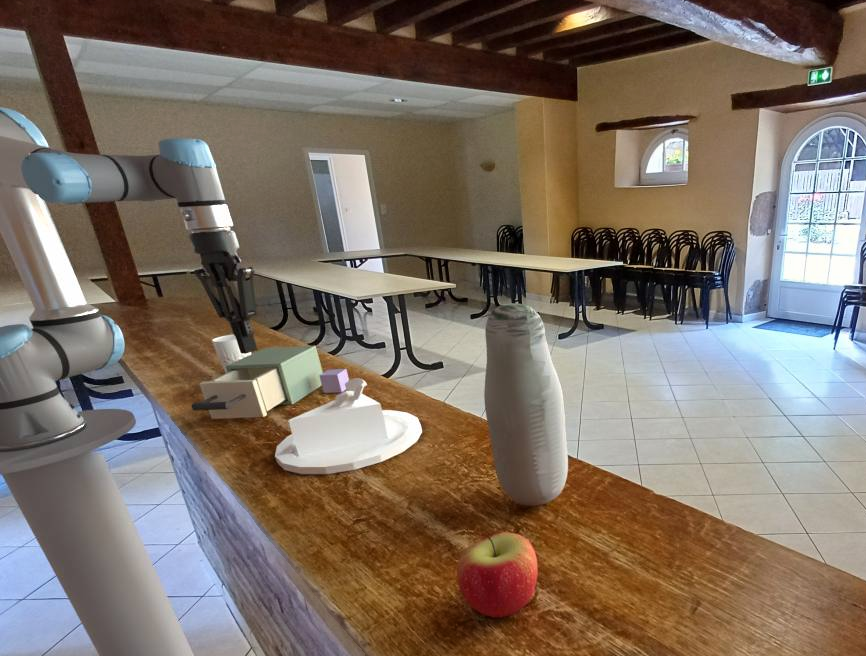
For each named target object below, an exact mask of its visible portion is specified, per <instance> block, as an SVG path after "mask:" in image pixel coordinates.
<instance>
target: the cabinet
mask: <svg viewBox="0 0 866 656" xmlns="http://www.w3.org/2000/svg"><path fill="white" fill-rule="evenodd" d="M269 367H278V368H279V372H280V375H281V379H282V382H283V385H284V389H285V392H286V396H287V399H286V400H284V401H283V402H281V403H279V404H278V405H277V406H288V405H289V406H292V405H295V404H296V403H297V402H299V401H301V400H302V399H303V398H305V397H306V396H308V395H309V394H312V393H313V392H314V391H316V390H317V389H319V388H320V387H322V384H321V380H320V376H319V375H321V374H322V373H324V372H323V368H322V364H321V361H320V357H319V353H318V350H317V346H316V345H301V346H300V345H299V346H297V345H296V346H295V345H294V346H275V347H264V348H262V349H260V350H257V351H256V352H255V351H254V353H253V352H252V353H251V355H249V356H246V357H244V358H242V359H240V360H237V361H235V362H233V363H231V364H229V365H226V369H227V372H230V371H232V370H235V369H244V368H269Z"/></svg>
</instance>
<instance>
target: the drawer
mask: <svg viewBox="0 0 866 656" xmlns="http://www.w3.org/2000/svg"><path fill="white" fill-rule="evenodd" d="M198 385H199V388H200V390H201V393H202V396H203V399H204V400H203V401H201V402H193V403H192V404H191V409H192V410H193V411H208V414H209V416H210V419H213V420H215V419H216V420H217V419H243V418H244V419H246V418H264V417H266V416H267V415H268V414H267V412H268V411H270V410H272V409H273V408H274V407H277V406H279V405H278V404H279V403H281V402H283V401H284V400H286V399H287V396H286V392H285V389H284V385H283V382H282V379H281V375H280V372H279V368H278V367H269V368H244V369H235V370H232V371H230V372H228V373H226V374H225V373H224V374H222V375H219V376H218V377H216V378H214V379H211V380H209V381H202V382H200V383H198Z"/></svg>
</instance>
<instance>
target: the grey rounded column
mask: <svg viewBox="0 0 866 656" xmlns="http://www.w3.org/2000/svg"><path fill="white" fill-rule="evenodd" d="M545 329H546V328H545V324H544V321H543V320H542V318H541V315H539V313H538V312H537V311H536V310H535V309H534V308H533V307H531V306H529V305H526V304H522V303H504V304H500V305H499V306H497V307H496V308H494V309H493V310H491V312H490V313H489V315H488V317H487V320H486V324H485V344H486V365H485V375H484V377H485V379H484V390H483V392H484V393H483V397H484V398H483V399H484V409H485V410H484V411H485V417H486V422H487V429H488V434H489V438H490V444H491V451H492V458H493V465H494V470H495V474H496V479H497V481H498V484H499V485H500V486H501V489H502V491H503V492H504V493H505V495H506V496H507V497H508V498H510V499H511V500H513V501H514V502H516V503H518V504H520V505H522V506H523V505H524V506H528V507H529V506H530V507H536V506H537V507H539V506H542V505H546V504H548V503H550V502H552V501H553V500H555V499H556V498H557V497H558V496H560V494H561V493H562V491H563V490H564V488H565V485H566V482H567V479H568V473H569V457H568V445H567V432H566V431H567V430H566V416H565V403H564V396H563V389H562V386H561V383H560V379H559V376H558V374H557V370H556V368H555V366H554V363H553V360H552V357H551V353H550V350H549V346H548V342H547V339H546V330H545Z"/></svg>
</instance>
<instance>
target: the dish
mask: <svg viewBox="0 0 866 656" xmlns="http://www.w3.org/2000/svg"><path fill="white" fill-rule="evenodd" d="M367 385H368V384H367V382H366V381H365V380H364V379H363V378H361V377H354V378H352V379H349V381H348V382H347V383H345V387H346V390H344V391H343V392H340V393H338V394H337V395H336V396H335V397H334V398H335V399H334V400H332V401H330V402H327V403H325V404H323V405H319V406H317V407H316V408H313V409H311V410H308V411H306V412H304V413H302V414H299V415H297V416H294V417H292V418H290V419H288V420H287V421H288V424H289V428H290V431H291V434H290V435H287V436H286V437H285V438H284V439H282V441H281V442H280V443H279V444H277V445H276V449H275V452H274V458H275V461H276V463H277V464H278V465H279V466H280V467H281V468H282V469H283V470H284V471H287V472H291V473H295V474H299V475H331V474H335V473H342V472H349V471H355V470H358V469H361V468H365V467H369V466H372V465H375V464H378V463H382V462H384V461H387V460H389V459H390V458H393V457H396V456H397V455H399V454H402V453H403V452H405V451H406V450H408V449H409V448H410V447H411V446H413V445H415V444H416V443H417V442H418V440H419V439H420V436H421V435H422V433H423V429H422V425H421V422H420V420H419V418H418V417H417V416H416V415H413V414H412V413H409V412H407V411H400V410H392V409H385V410H384V409H383V408H382V405H381V403H380V402H378V401H377V400H374V399H373V398H370V397H369V396H366V395H365V394H363V390H364V388H365V387H366V386H367Z"/></svg>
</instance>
